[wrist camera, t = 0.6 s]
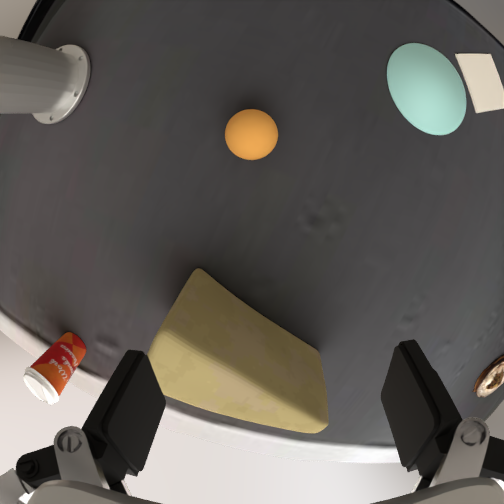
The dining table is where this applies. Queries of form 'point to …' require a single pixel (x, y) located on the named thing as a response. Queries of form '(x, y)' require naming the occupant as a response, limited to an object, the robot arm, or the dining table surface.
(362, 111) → the dining table surface
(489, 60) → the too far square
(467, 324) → the dining table surface
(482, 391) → the golden round pastry
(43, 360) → the paper cup
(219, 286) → the cheese
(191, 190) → the dining table surface
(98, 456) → the robot arm
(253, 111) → the ball
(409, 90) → the disc
